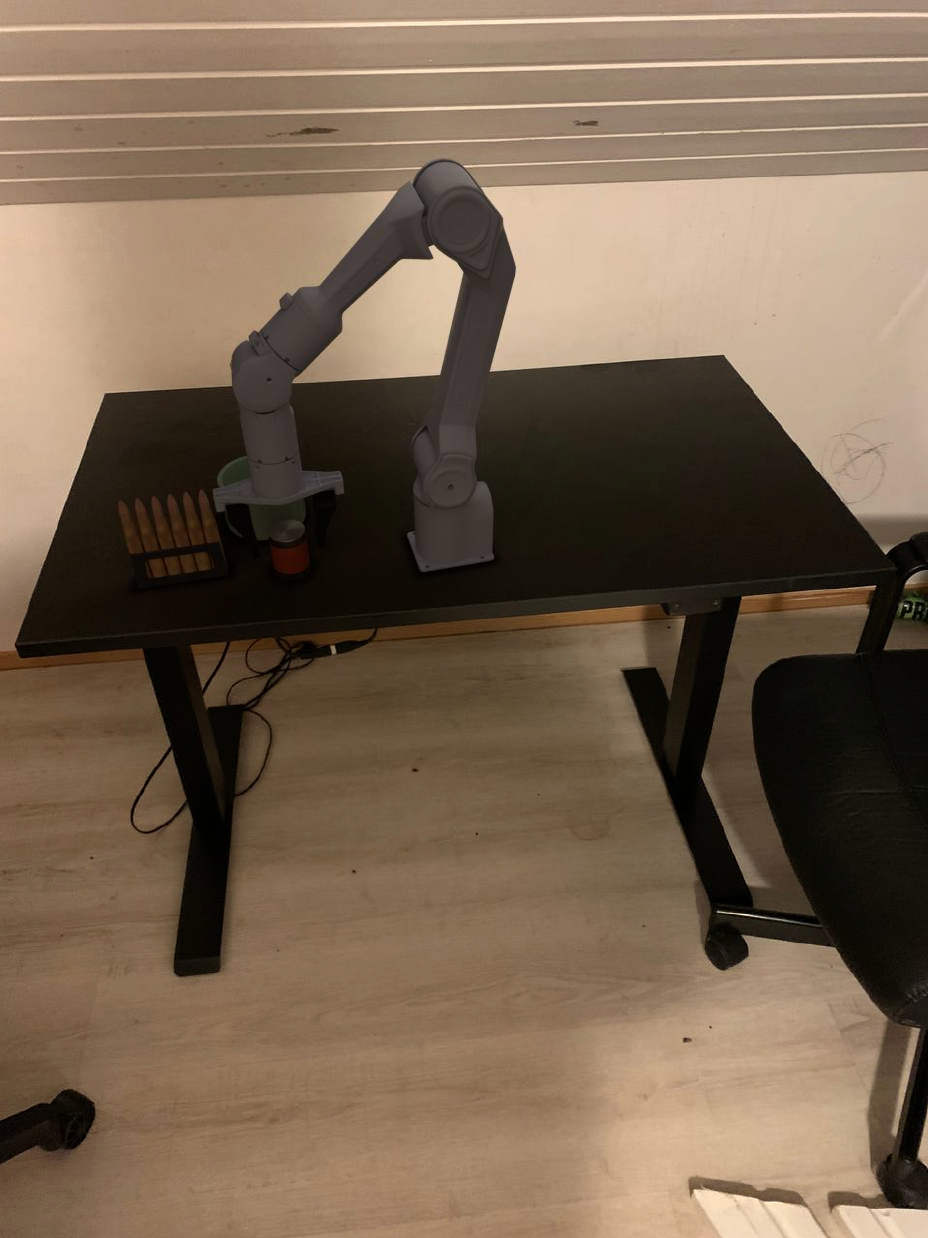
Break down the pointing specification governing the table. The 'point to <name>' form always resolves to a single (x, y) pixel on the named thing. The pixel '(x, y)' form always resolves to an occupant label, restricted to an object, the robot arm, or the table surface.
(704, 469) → the table surface
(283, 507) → the cup
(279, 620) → the table surface
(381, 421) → the table surface
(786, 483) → the table surface
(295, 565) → the tin can
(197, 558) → the ammunition clip
